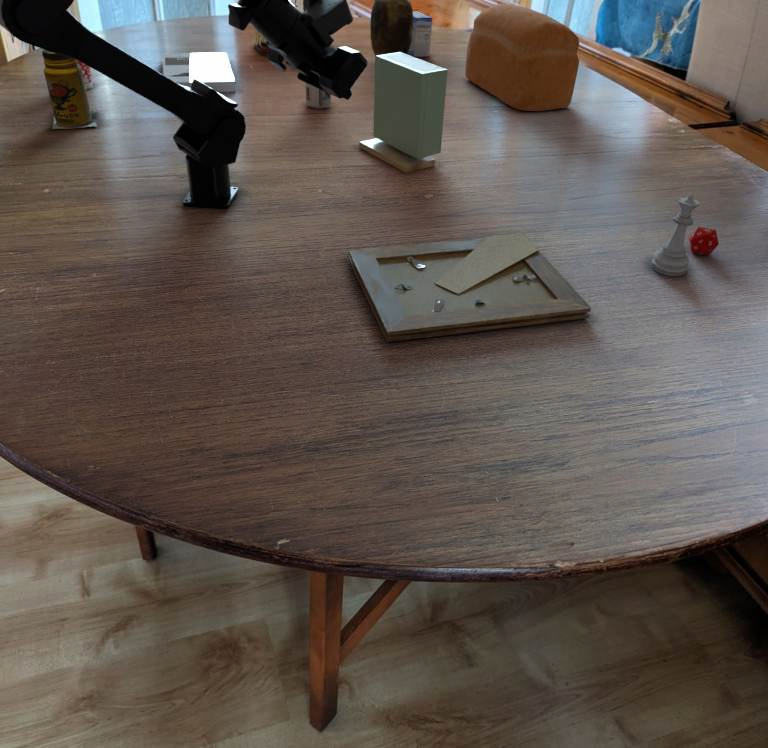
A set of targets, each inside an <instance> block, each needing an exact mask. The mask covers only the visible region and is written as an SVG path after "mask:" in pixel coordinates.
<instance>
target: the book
mask: <svg viewBox="0 0 768 748" xmlns="http://www.w3.org/2000/svg"><path fill="white" fill-rule="evenodd" d="M161 57H162V75H164V76H166V77H167V78H169V79H171V80H172V81H174V82H176V83H177V84H180V85H183V86H186V87H190V88H191V85H192V82H193V79H194V78H195V79H197V80H198V81H200V82H202V83H203V84H205V85H207V86H209V87H210V88H212V89H214V90H215V91H216V92H218V93H233V92H237V87H236V86H237V85H236V80H235V79H236V78H235V76H234V73H233V70H232V67H231V63H230V60H229V56H228V54H227V51H226V52H225V51H224V52H223V51H221V52H177V53H176V52H173V53H169V52H168V53H167V52H166V53H162V55H161Z"/></svg>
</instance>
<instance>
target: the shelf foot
mask: <svg viewBox="0 0 768 748" xmlns="http://www.w3.org/2000/svg"><path fill="white" fill-rule="evenodd" d="M358 144H359V146H358V148H359V149H361V150H363V151H365V152H366V153H369V154H370V155H372V156H373V157H376V158H377V159H380V160H381V161H383V162H385V163H387V164H388V165H391V166H392V167H394V168H396V169H398V170H399V171H402V172H403V173H405V174H406V173H411V172H415V171H418V170H422V169H427V168H431V167H435V166H436V159H434V158H432V157H430V156H427V157H423V158H418V159H416V158H414V157H412V156H410V155H408V154H406V153H404V152H402V151H400V150H399V149H397V148H395V147H393V146H391V145H389V144H387V143H385V142H383V141H381V140H379V139H377V138H375V137H374V138H371V139H367V140H362V141H359V143H358Z"/></svg>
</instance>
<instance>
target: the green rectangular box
mask: <svg viewBox="0 0 768 748" xmlns="http://www.w3.org/2000/svg"><path fill="white" fill-rule="evenodd" d="M447 80H448V69H447V68H444V67H441V66H440V65H436V64H434V63H432V62H428V61H426V60H423V59H421V58H419V57H413V56H411V55H409V54H404V53H402V52H396V53H389V54H382V55H376V56H375V55H374V88H373V89H374V94H373V95H374V96H373V132H372V133H373V134H372V136H373V138H374V139H375V138H377V139H379V140H381V141H383V142H385V143H387V144H389V145H391V146H393V147H395V148H397V149H399V150H400V151H402V152H404V153H406V154H408V155H410V156H412V157H414V158H416V159H418V158H423V157H427V156H429V157H430V156H435V155H438V154H441V153H442V144H443V143H442V141H443V129H444V116H445V104H446V95H447V94H446V93H447V92H446V91H447Z"/></svg>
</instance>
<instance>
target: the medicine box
mask: <svg viewBox="0 0 768 748" xmlns="http://www.w3.org/2000/svg"><path fill="white" fill-rule="evenodd" d="M432 31H433V17H431V16H428V15H426V14H424V13H422V12H420V11H417V10H413V30H412V42H411V46H410V49H409V51H408V53H407V55H410V56H412V57H415V58H422V57H423V58H425V57H429V56H430V55H431V45H432V43H431V42H432Z"/></svg>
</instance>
